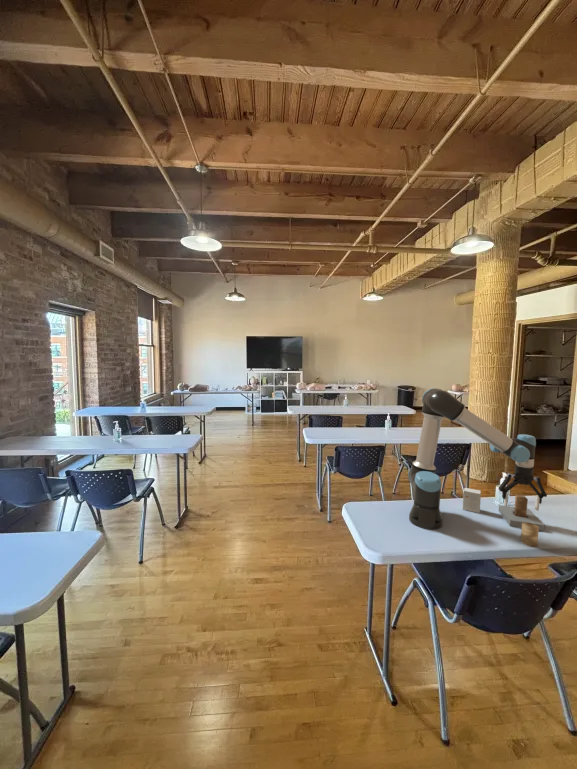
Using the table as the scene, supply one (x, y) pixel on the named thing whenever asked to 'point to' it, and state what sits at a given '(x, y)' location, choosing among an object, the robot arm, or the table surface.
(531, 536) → the light brown wooden block
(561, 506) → the table surface
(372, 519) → the table surface
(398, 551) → the table surface
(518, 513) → the square peg
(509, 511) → the socket block
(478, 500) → the small box
